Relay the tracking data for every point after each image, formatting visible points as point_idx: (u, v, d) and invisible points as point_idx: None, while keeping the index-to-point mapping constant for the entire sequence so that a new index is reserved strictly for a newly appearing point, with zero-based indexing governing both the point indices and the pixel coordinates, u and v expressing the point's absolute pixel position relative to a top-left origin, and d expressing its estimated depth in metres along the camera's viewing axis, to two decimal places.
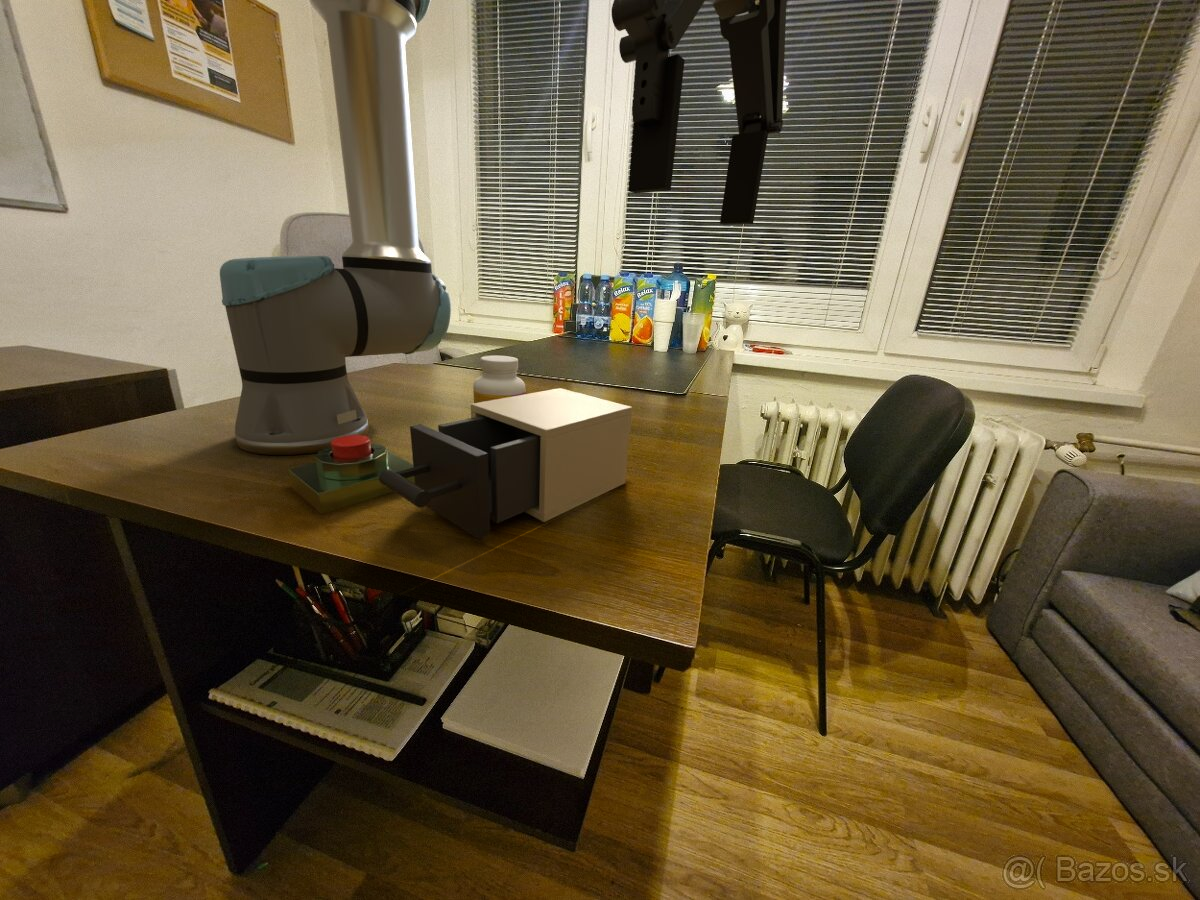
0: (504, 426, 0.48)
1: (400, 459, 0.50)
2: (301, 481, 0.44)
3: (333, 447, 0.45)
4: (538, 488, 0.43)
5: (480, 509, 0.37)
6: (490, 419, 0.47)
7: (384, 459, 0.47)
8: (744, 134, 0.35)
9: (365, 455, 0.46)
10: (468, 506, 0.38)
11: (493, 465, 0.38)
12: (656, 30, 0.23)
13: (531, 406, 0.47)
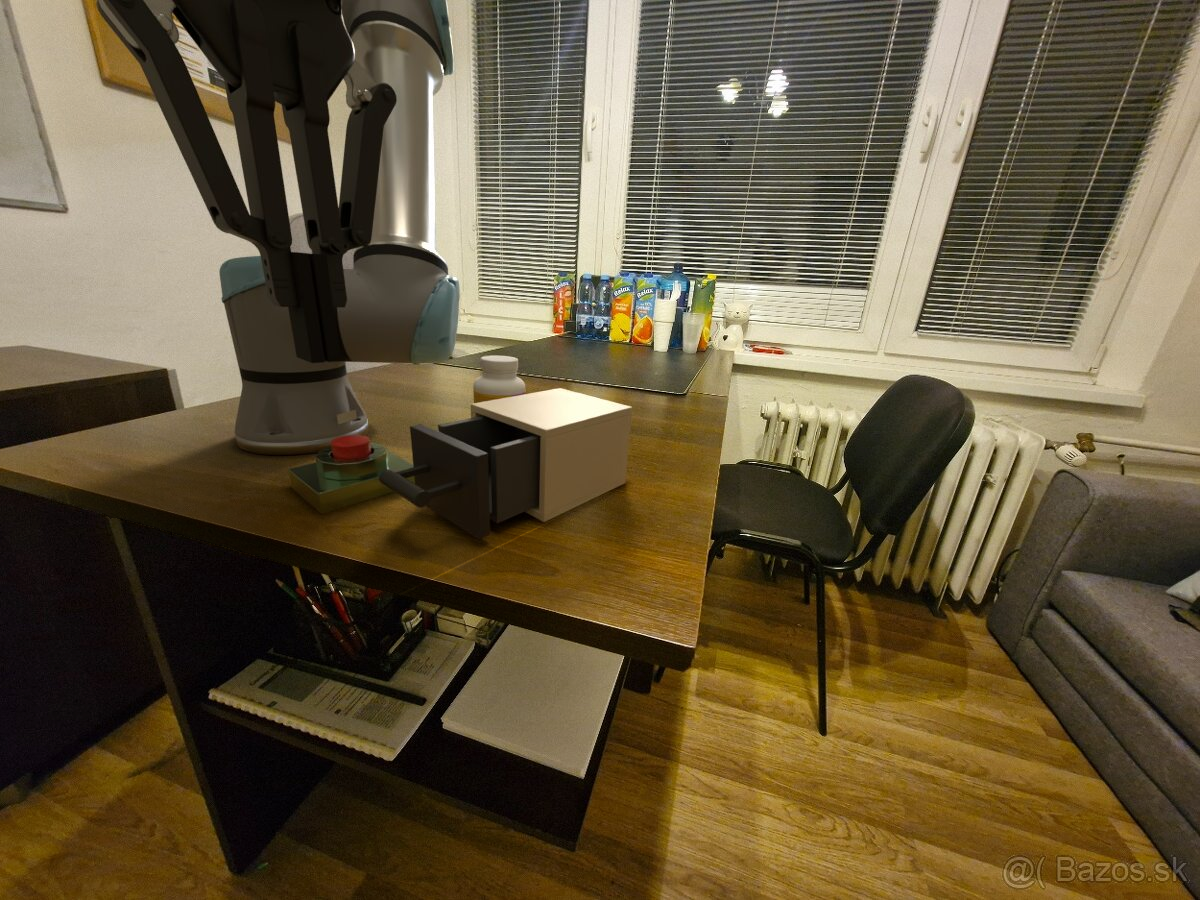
0: (504, 426, 0.48)
1: (400, 459, 0.50)
2: (301, 481, 0.44)
3: (333, 447, 0.45)
4: (538, 488, 0.43)
5: (480, 509, 0.37)
6: (490, 419, 0.47)
7: (384, 459, 0.47)
8: None
9: (365, 455, 0.46)
10: (468, 506, 0.38)
11: (493, 465, 0.38)
12: (266, 247, 0.25)
13: (531, 406, 0.47)
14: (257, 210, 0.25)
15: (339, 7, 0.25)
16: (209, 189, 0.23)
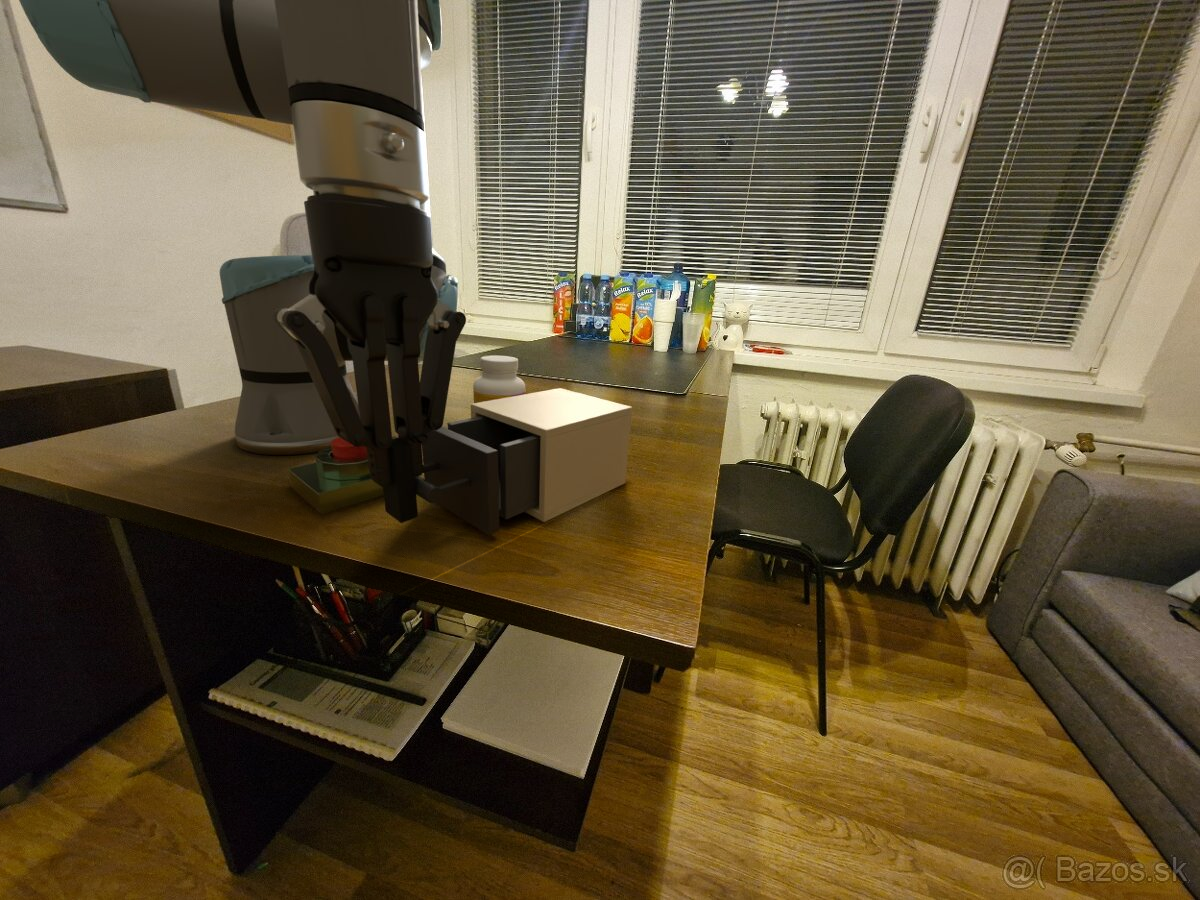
0: None
1: None
2: (301, 481, 0.44)
3: (333, 447, 0.45)
4: None
5: (490, 505, 0.38)
6: None
7: None
8: (392, 442, 0.35)
9: (365, 455, 0.46)
10: (478, 502, 0.39)
11: (502, 462, 0.39)
12: (374, 448, 0.33)
13: (531, 406, 0.47)
14: (368, 423, 0.33)
15: (429, 271, 0.33)
16: (340, 422, 0.31)
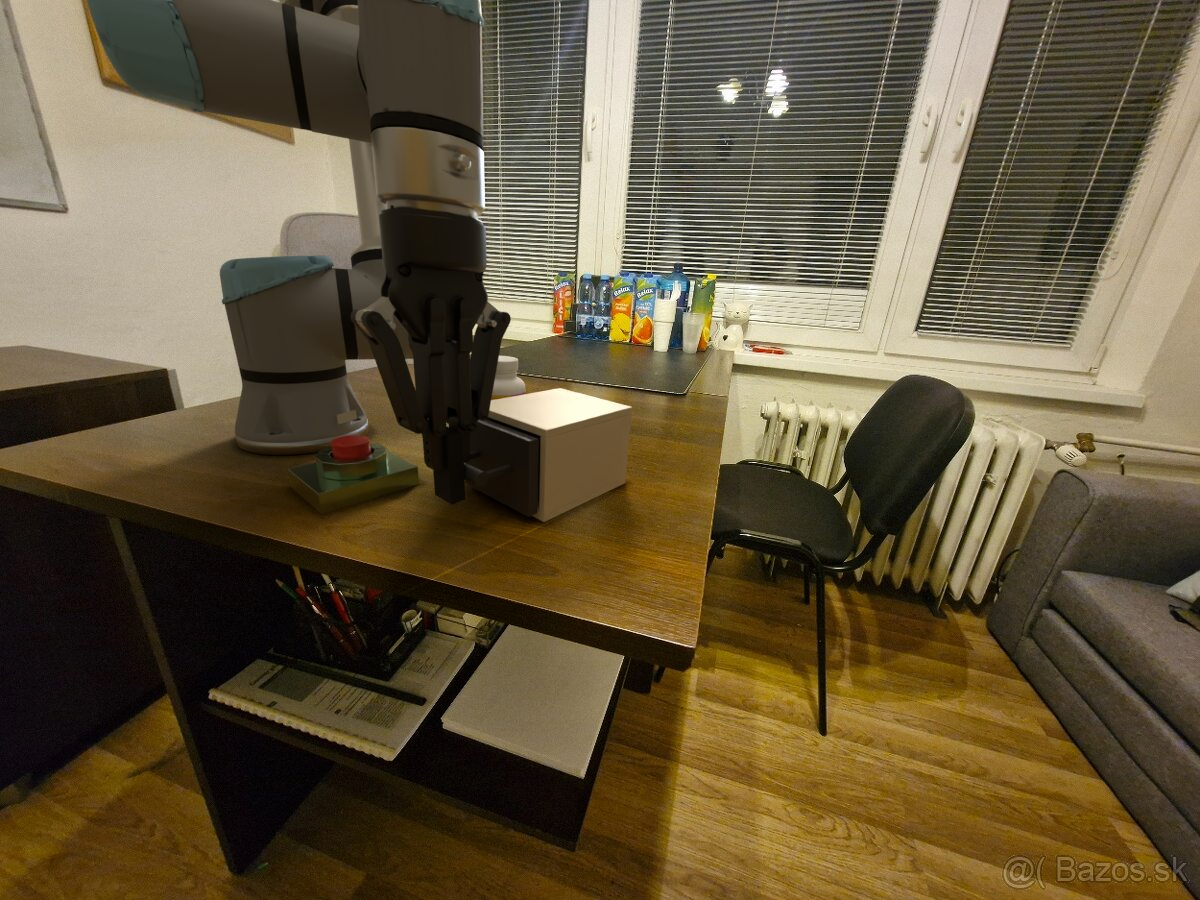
0: None
1: (400, 459, 0.50)
2: (301, 481, 0.44)
3: (333, 447, 0.45)
4: None
5: (530, 489, 0.41)
6: None
7: (384, 459, 0.47)
8: None
9: (365, 455, 0.46)
10: (519, 487, 0.42)
11: None
12: (430, 436, 0.37)
13: (531, 406, 0.47)
14: (425, 412, 0.36)
15: (481, 275, 0.36)
16: (404, 411, 0.34)
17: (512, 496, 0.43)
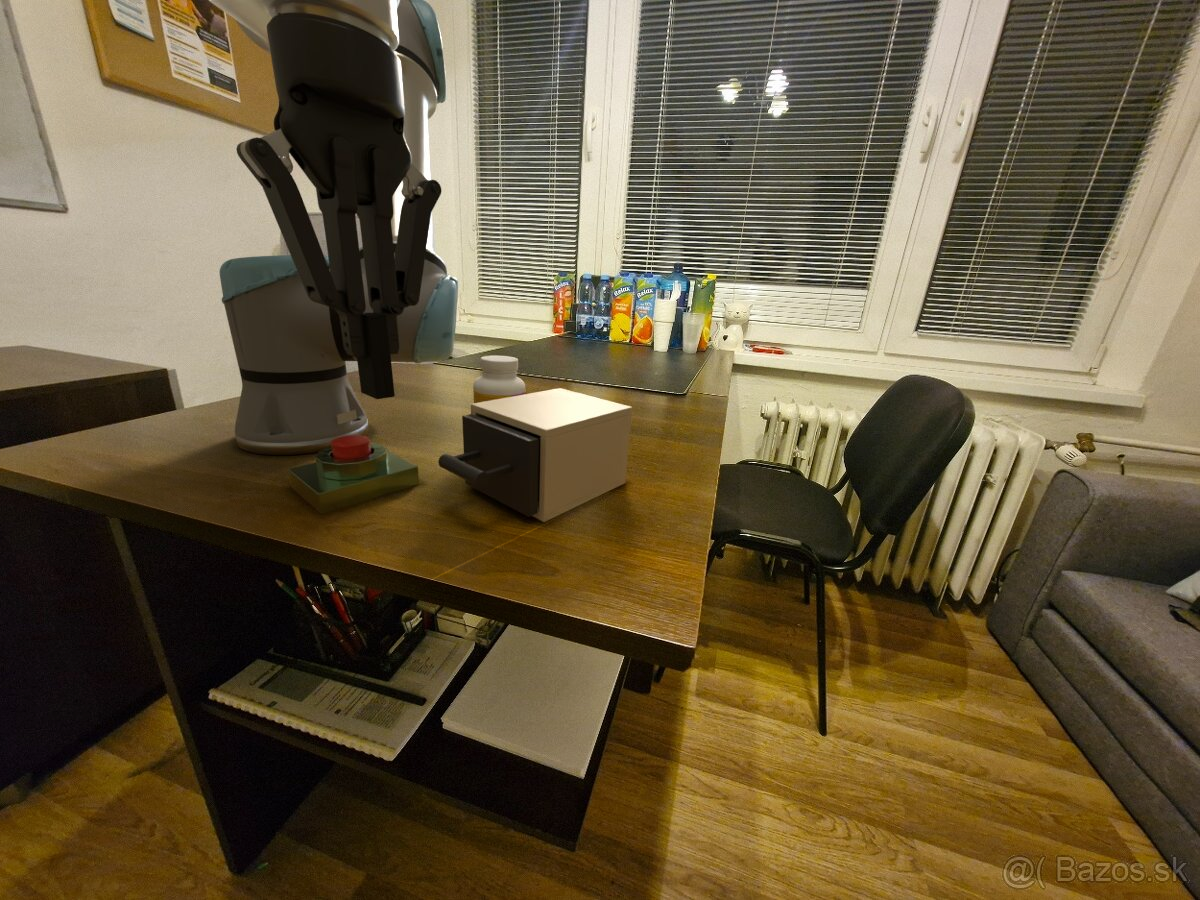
0: None
1: (400, 459, 0.50)
2: (301, 481, 0.44)
3: (333, 447, 0.45)
4: None
5: (530, 489, 0.41)
6: None
7: (384, 459, 0.47)
8: (366, 314, 0.35)
9: (365, 455, 0.46)
10: (519, 487, 0.42)
11: None
12: (347, 313, 0.33)
13: (531, 406, 0.47)
14: (340, 285, 0.32)
15: (402, 128, 0.32)
16: (310, 275, 0.30)
17: (512, 496, 0.43)
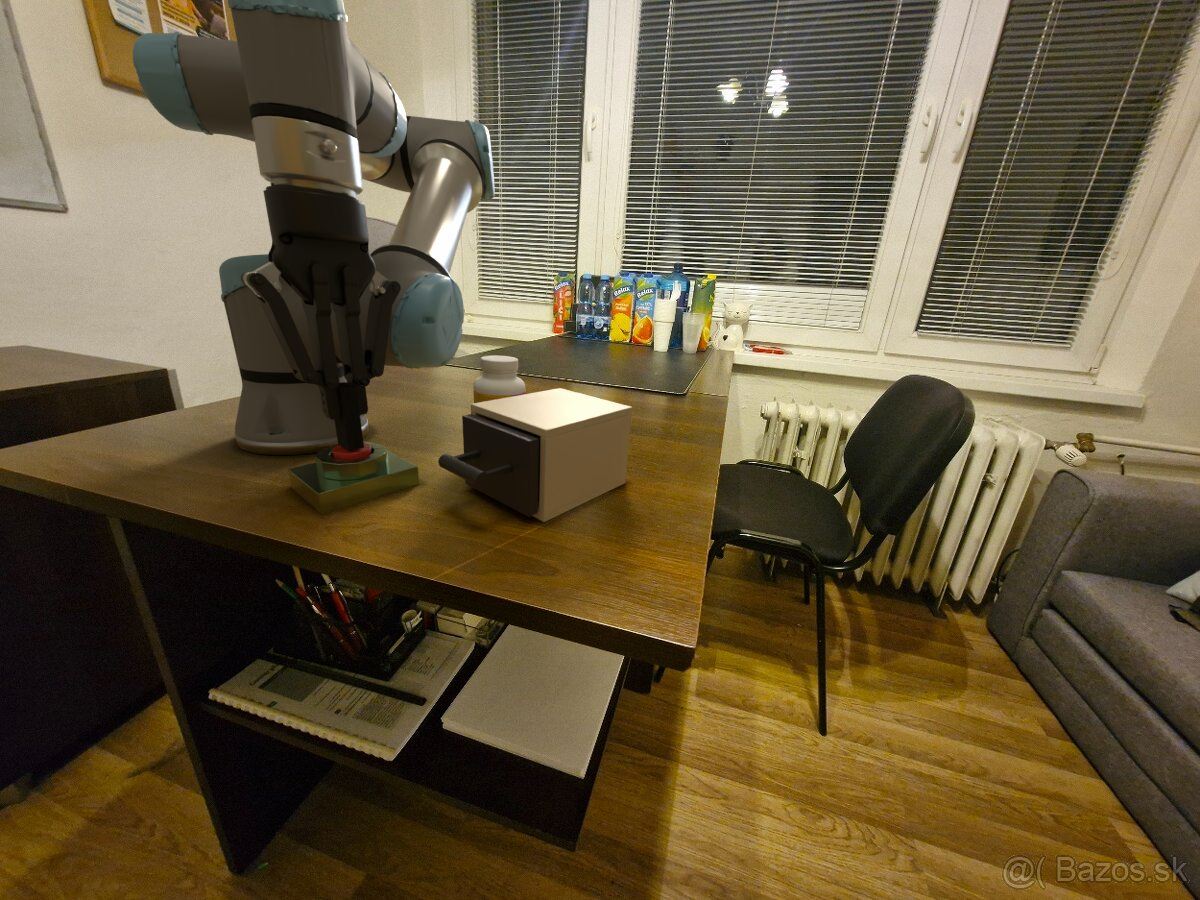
0: None
1: (400, 459, 0.50)
2: (301, 481, 0.44)
3: (334, 455, 0.45)
4: None
5: (530, 489, 0.41)
6: None
7: (384, 459, 0.47)
8: (341, 385, 0.44)
9: None
10: (519, 487, 0.42)
11: None
12: (324, 387, 0.42)
13: (531, 406, 0.47)
14: (319, 366, 0.42)
15: (367, 247, 0.42)
16: (295, 363, 0.40)
17: (512, 496, 0.43)
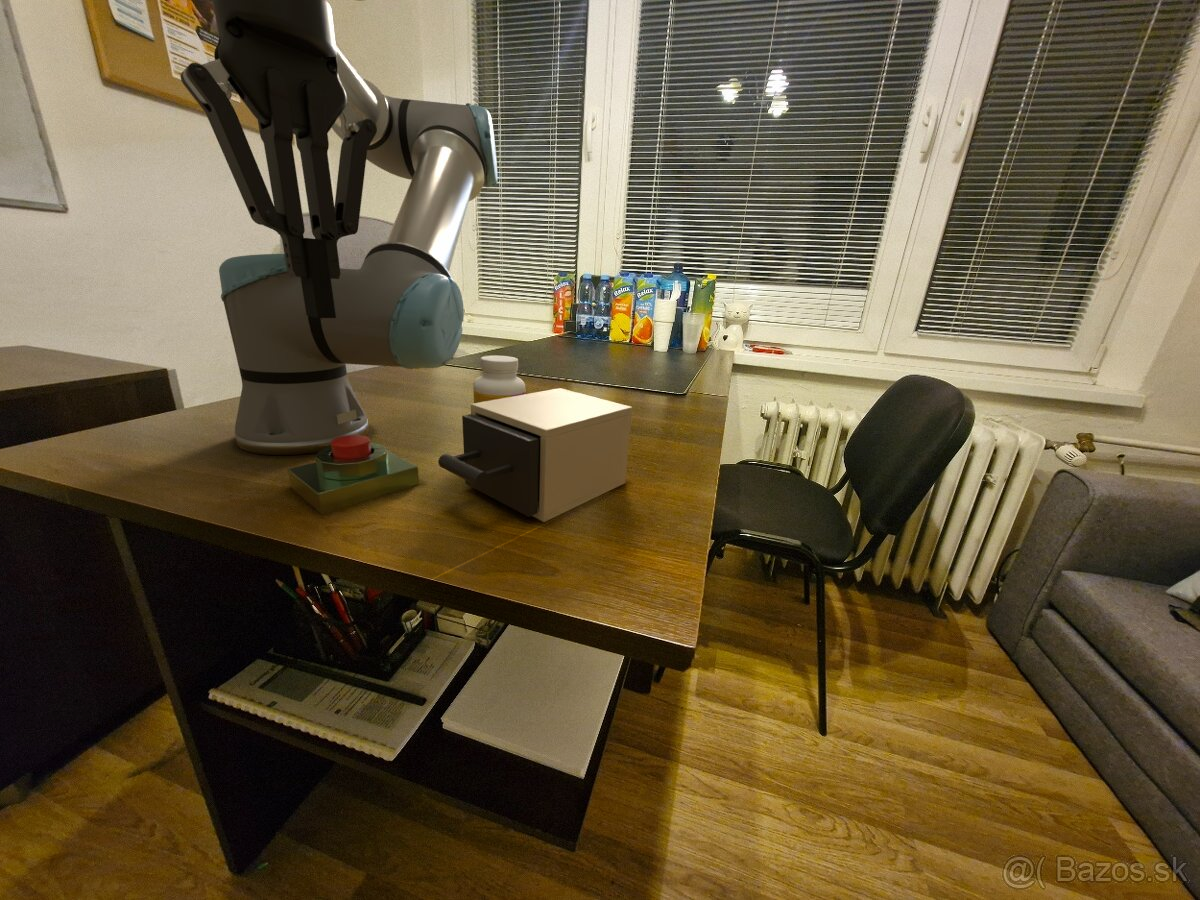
0: None
1: (400, 459, 0.50)
2: (301, 481, 0.44)
3: (333, 447, 0.45)
4: None
5: (530, 489, 0.41)
6: None
7: (384, 459, 0.47)
8: None
9: (365, 455, 0.46)
10: (519, 487, 0.42)
11: None
12: (287, 234, 0.36)
13: (531, 406, 0.47)
14: (280, 208, 0.36)
15: (336, 68, 0.36)
16: (250, 194, 0.34)
17: (512, 496, 0.43)
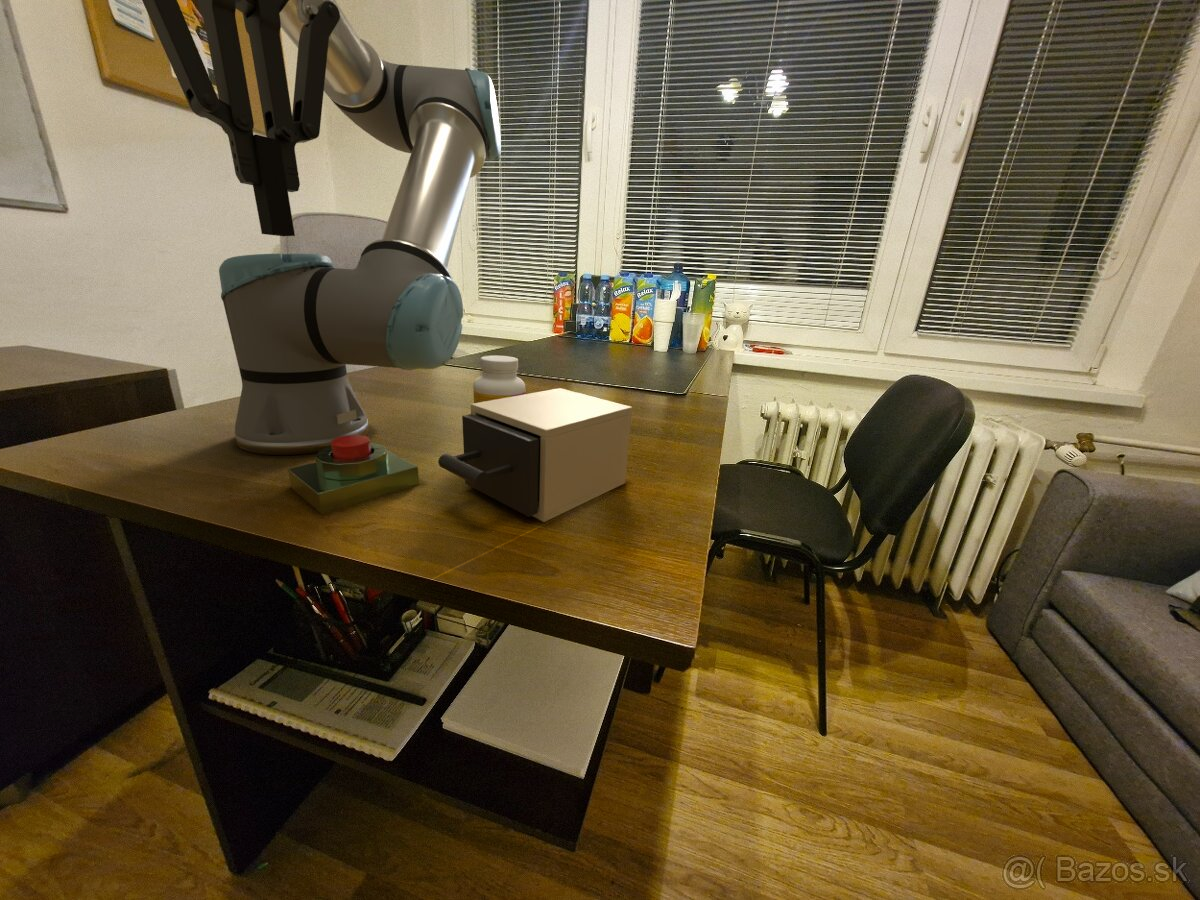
0: None
1: (400, 459, 0.50)
2: (301, 481, 0.44)
3: (333, 447, 0.45)
4: None
5: (530, 489, 0.41)
6: None
7: (384, 459, 0.47)
8: None
9: (365, 455, 0.46)
10: (519, 487, 0.42)
11: None
12: (232, 128, 0.31)
13: (531, 406, 0.47)
14: (224, 97, 0.31)
15: None
16: (184, 72, 0.29)
17: (512, 496, 0.43)
